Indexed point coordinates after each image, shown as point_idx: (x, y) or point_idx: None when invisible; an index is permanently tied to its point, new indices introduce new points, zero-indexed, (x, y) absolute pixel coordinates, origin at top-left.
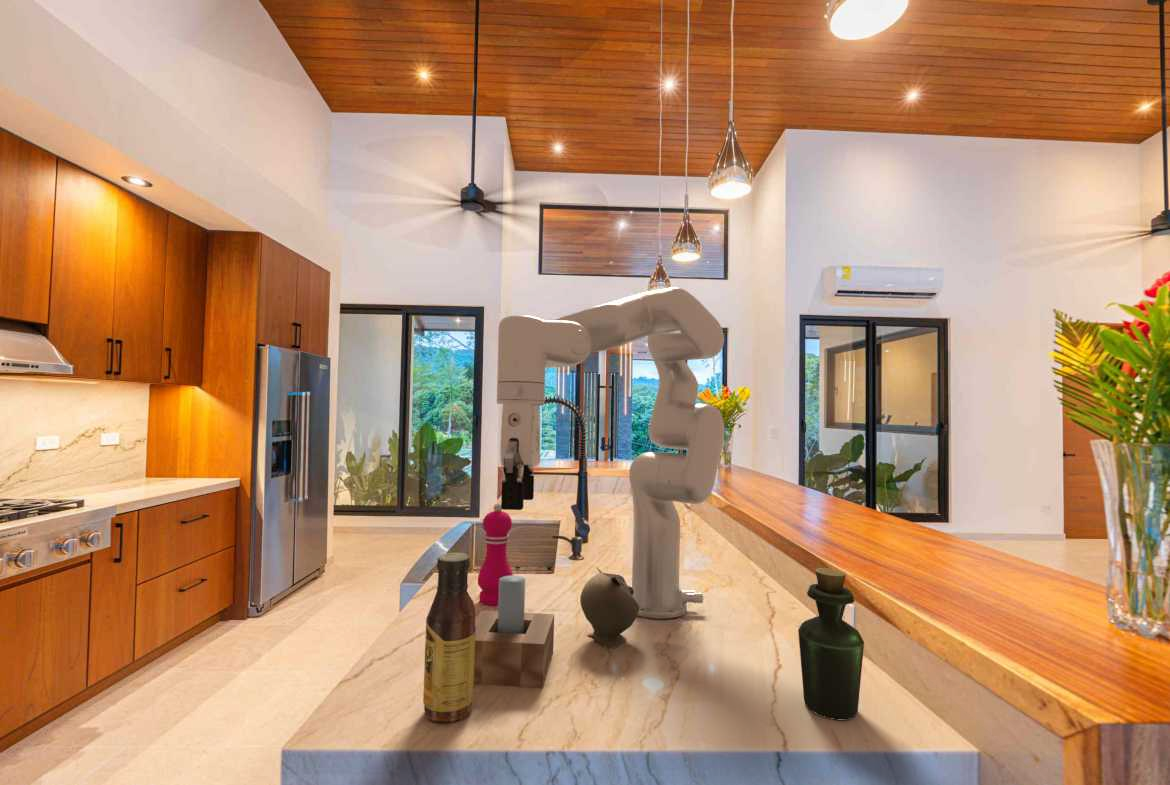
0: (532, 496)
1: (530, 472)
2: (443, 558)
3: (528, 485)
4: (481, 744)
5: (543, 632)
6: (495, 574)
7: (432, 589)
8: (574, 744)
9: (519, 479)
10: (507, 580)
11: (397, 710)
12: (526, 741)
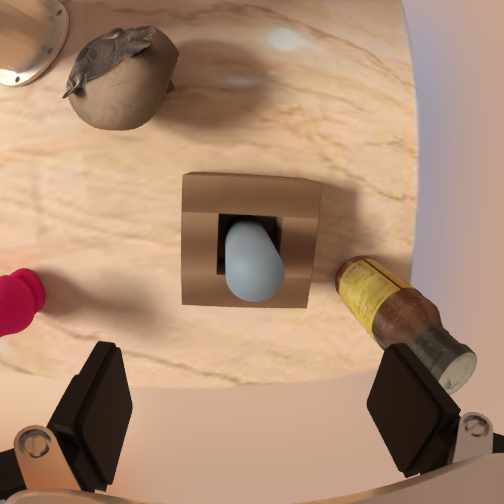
0: (109, 350)
1: (63, 454)
2: (462, 383)
3: (103, 406)
4: (408, 233)
5: (274, 187)
6: (19, 308)
7: (25, 370)
8: (411, 146)
9: (487, 423)
10: (264, 283)
11: (348, 325)
12: (406, 192)
